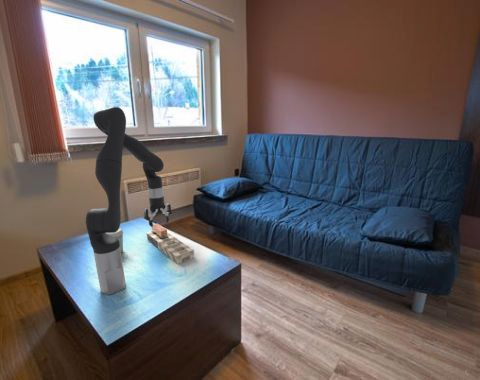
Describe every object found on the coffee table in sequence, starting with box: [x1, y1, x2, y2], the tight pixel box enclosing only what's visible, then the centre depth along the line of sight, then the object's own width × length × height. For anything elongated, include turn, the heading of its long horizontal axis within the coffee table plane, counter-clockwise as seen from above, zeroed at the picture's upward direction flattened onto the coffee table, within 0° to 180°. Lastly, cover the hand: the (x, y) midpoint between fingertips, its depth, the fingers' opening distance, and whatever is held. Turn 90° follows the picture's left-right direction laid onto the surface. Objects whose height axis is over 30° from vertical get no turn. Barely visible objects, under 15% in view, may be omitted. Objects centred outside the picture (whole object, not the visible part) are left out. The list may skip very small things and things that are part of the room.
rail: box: [146, 230, 195, 265], centre depth 136 cm, size 36×9×4 cm, turn 41°
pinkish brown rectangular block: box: [151, 223, 168, 240], centre depth 143 cm, size 12×4×8 cm, turn 41°
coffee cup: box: [106, 227, 124, 253], centre depth 132 cm, size 8×8×12 cm
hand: (159, 224), depth 141 cm, fingers open, 8 cm apart
